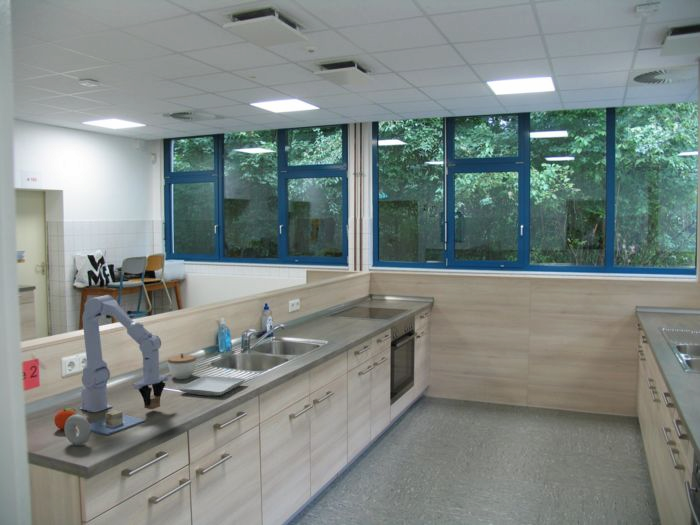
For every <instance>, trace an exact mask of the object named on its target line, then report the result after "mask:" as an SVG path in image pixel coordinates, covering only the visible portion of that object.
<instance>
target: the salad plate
mask: <svg viewBox="0 0 700 525" xmlns="http://www.w3.org/2000/svg"><path fill="white" fill-rule="evenodd" d="M245 381H246V378H245V377H244V378H242V377H240V378H239V377H232V376H231V377H229V376H213V375H212V376H211V375H204V376H202V377H200V378H196V379H195V380H192V381H191V382H188V383H186V384H184V385H182V386H179V387H178V388H177V389H178V390H179V391H180V392H182V393H185V394H191V395H198V394H201V395H200V396H209V395H213V397H219V395H220V396H222V394H223V395H225V394H227V393H229V392H230V391H232V390H234V389H235V388H238V386H241V385H242V384H243V383H244V382H245ZM233 388H234V389H233ZM226 392H227V393H226ZM224 393H225V394H224Z"/></svg>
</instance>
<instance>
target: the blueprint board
mask: <svg viewBox="0 0 700 525" xmlns="http://www.w3.org/2000/svg"><path fill="white" fill-rule="evenodd" d="M122 415H123V423H120V424H117V425H115V426H111V425H107V424H106V418H103V419H101V420H98V421H95V422H92V423H89V424H90V428H91V433H97V434H100V435H103V436H106V437H107V436H109V435H112V434H116V433H118V432H122V431H124V430H127V429H129V428H132V427H134V426H135V427H136V426H137V425H141V424H143V423H146V422H147V419H142V418H139V417H134V416H130V415H127V414H123V413H122Z"/></svg>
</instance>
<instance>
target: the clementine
mask: <svg viewBox="0 0 700 525" xmlns="http://www.w3.org/2000/svg"><path fill="white" fill-rule="evenodd" d="M72 415H77V414H76V410H75V409H74V408H72V409H71V408H70V407H69V408H64V409H61V410H60V411H57V413H56V414H55V416H54V425H55V426H56V428H58V429H60V430H64V426H65V422H66V420H67V419H68V418H69V417H70V416H72Z"/></svg>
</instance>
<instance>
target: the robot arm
mask: <svg viewBox="0 0 700 525" xmlns="http://www.w3.org/2000/svg"><path fill="white" fill-rule="evenodd" d="M83 304H84V306H83V307H84V310H83V313H82V316H81V317H82V318H81V320H82V328H83V336H84V345H85V347H84V348H85V354H86V363H85V365H84V366H83V368H82V376H81V382H82V385H83V388H82V389H81V391H80V392H81V393H80V394H81V396H80V397H81V399H80V400H81V407H79V410H82V409H83V411H86V410H87V412H92V413H98V412H101V411H104V410H106V409H110V408H113V405H110V404H108V387H107V384H108V381H109V379H110V378H111V372H110V370H109V368H108V364H107V362H106V361H105V360H103V353H102V352H103V351H102V344H101V333H100V326H99V325H100V324H99V320H100V319H101V318H102V317H103V316H111V317H113V319H115V320H116V321H118V323H119V324H121V325H122V326H123V327H124V328H126V333H127V335H128V336H129V337H130V338H132V340H134V341H135V342H136V343H137V344H138V348H139V350H140V351H141V356H142V370H143V371H142V374H143V376H142V378H143V379H141V380H139V381H138V382H134V383H133V389H134V390H138V392H139V393H140V395H141V397H142V400H143V403H145V405H148V406H149V405H150V395H152V391H153V395H156V396H160V398H161V397H162V393H163V390H164V388H165V386H166V382H168V381H169V375H166V374H163V375H160V358H159V357H160V355H159V354H160V352H159V350H160V349H161V347H162V340H161V338H160V337H159V335H156V334H153V333H152V331H151V332H150V331H149V330H147V329H146V328H145V327H144V326H145V325H144V324H143V323H140V322H137V321H136V322H135V321H134V320H133V319H132V318H131V317H130V316H129V315H128V314H127V313H126V311H124V309H123V308H122V307H121V306H119V303H118V301H117V300H116V299H114V297H113V296H112V295H110V294H105V295H101V296H96V297H90V298H88V300H87V301H85V302H84V303H83ZM150 386H151V387H150Z"/></svg>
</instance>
